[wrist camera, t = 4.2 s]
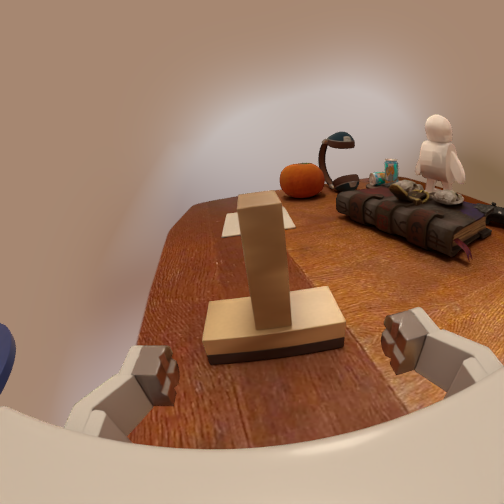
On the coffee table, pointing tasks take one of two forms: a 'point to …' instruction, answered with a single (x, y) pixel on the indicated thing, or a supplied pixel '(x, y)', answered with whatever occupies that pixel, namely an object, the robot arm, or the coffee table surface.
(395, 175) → the soda cans on board
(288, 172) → the fruit
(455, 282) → the coffee table surface
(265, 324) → the wooden post on base
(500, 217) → the game controller
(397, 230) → the book
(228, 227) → the flat beige rectangular tile
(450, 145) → the toy robot
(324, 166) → the headphones
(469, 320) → the coffee table surface
